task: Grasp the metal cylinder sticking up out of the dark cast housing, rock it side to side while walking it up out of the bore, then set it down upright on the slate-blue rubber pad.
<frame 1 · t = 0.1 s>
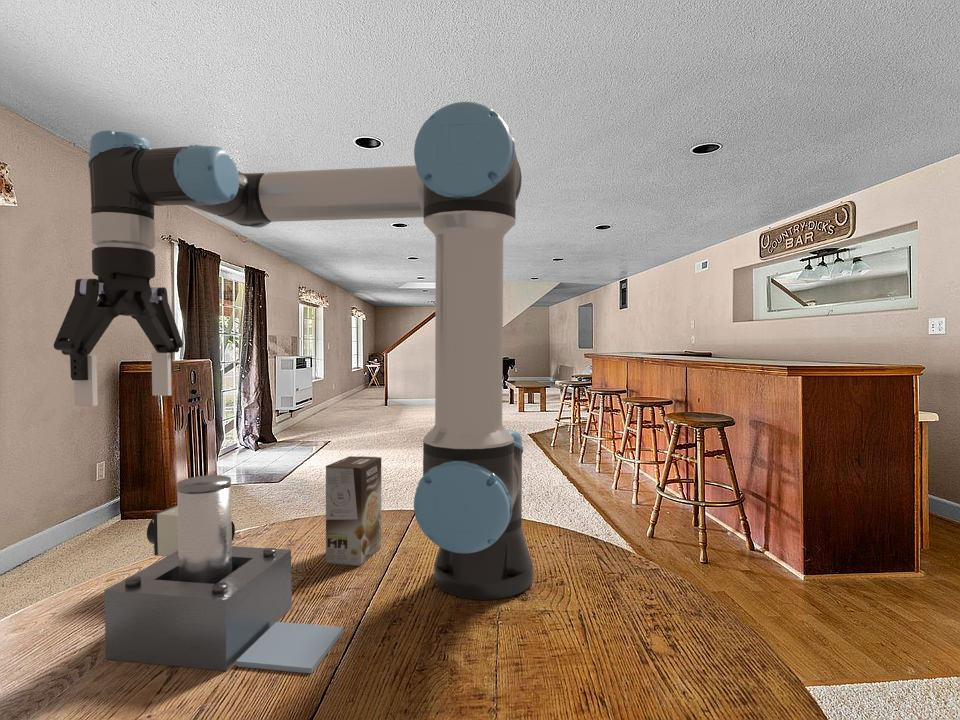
hand: (127, 400, 80), 28 cm above the table, tool pointing down, fingers open, 13 cm apart
pad: (292, 648, 67), on the table
metal cylinder: (206, 615, 71), point 2 cm above the table, touching housing
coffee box: (354, 556, 96), on the table
pneumatic valve: (194, 583, 86), on the table
housing: (206, 631, 71), on the table
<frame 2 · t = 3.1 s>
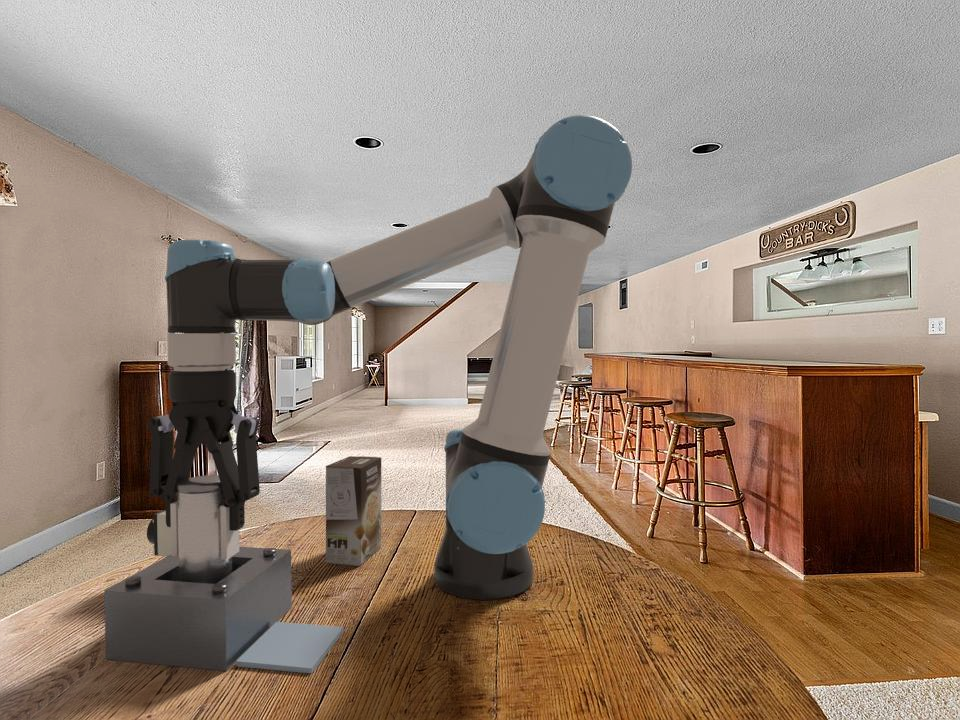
hand: (205, 553, 71), 10 cm above the table, tool pointing down, fingers closed on metal cylinder, 6 cm apart
metal cylinder: (206, 615, 71), point 2 cm above the table, touching gripper, housing
everything else where it was.
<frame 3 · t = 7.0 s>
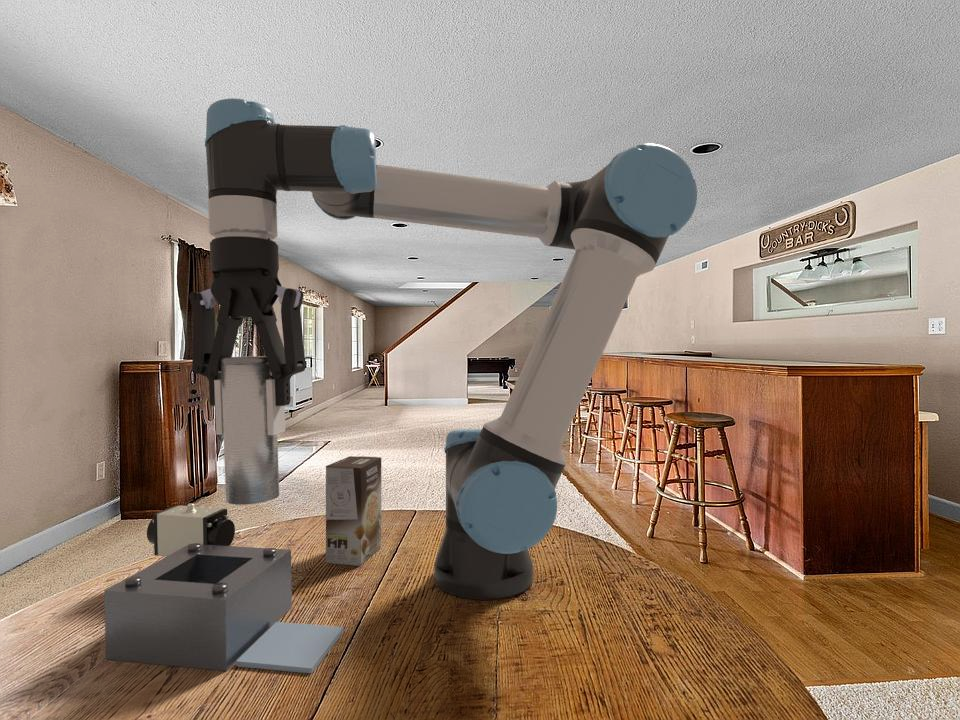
hand: (251, 432, 68), 25 cm above the table, tool pointing down, fingers closed on metal cylinder, 6 cm apart
metal cylinder: (253, 497, 69), point 17 cm above the table, touching gripper
everything else where it was.
when the fingers open (9 cm above the table, at t = 10.9 s): metal cylinder stays where it is, resting on pad.
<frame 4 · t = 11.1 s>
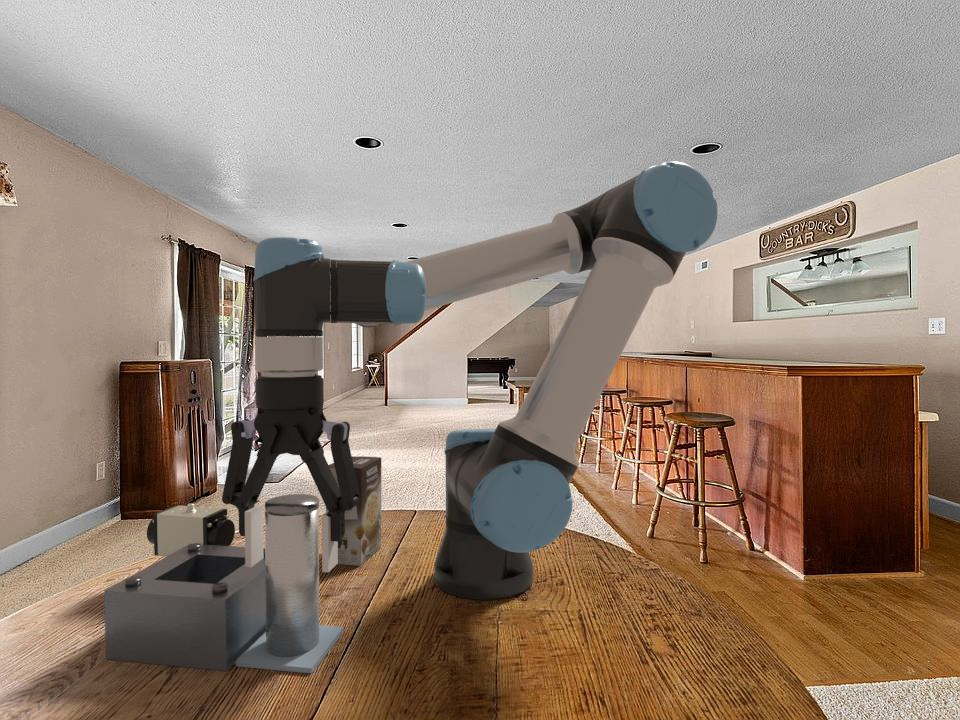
hand: (292, 564, 67), 10 cm above the table, tool pointing down, fingers open, 9 cm apart
metal cylinder: (293, 642, 67), point 1 cm above the table, touching pad
everything else where it was.
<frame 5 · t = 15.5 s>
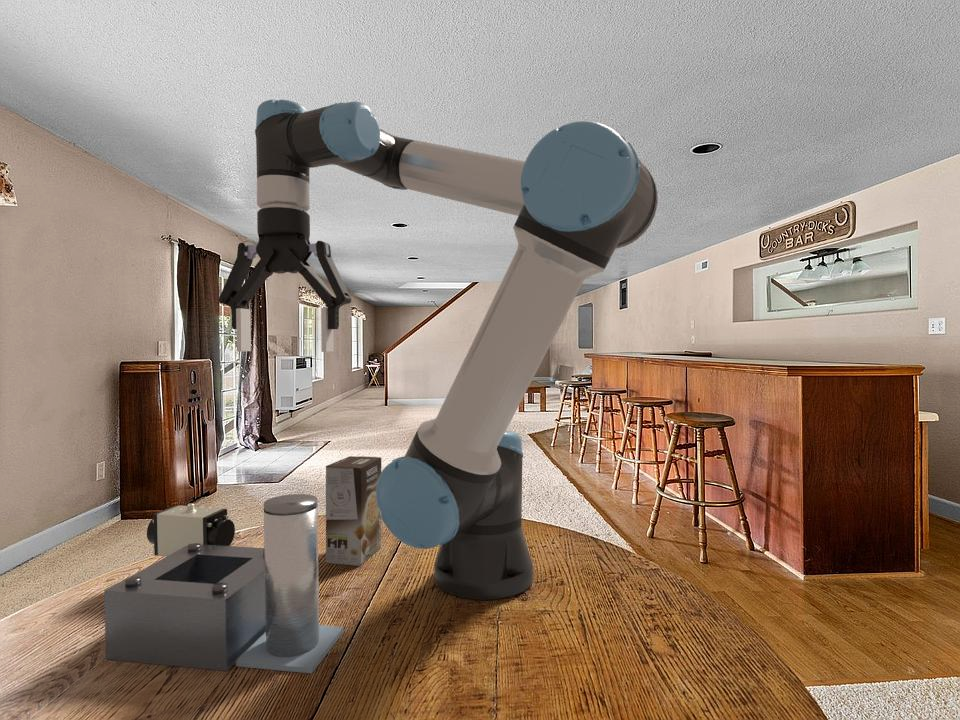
hand: (285, 351, 86), 35 cm above the table, tool pointing down, fingers open, 13 cm apart
nothing on the table moved.
at the end: metal cylinder inside the target area on the pad (0.0 cm from its centre), point 0.6 cm above the pad's base; metal cylinder tilted 0°; the gripper is holding nothing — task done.
